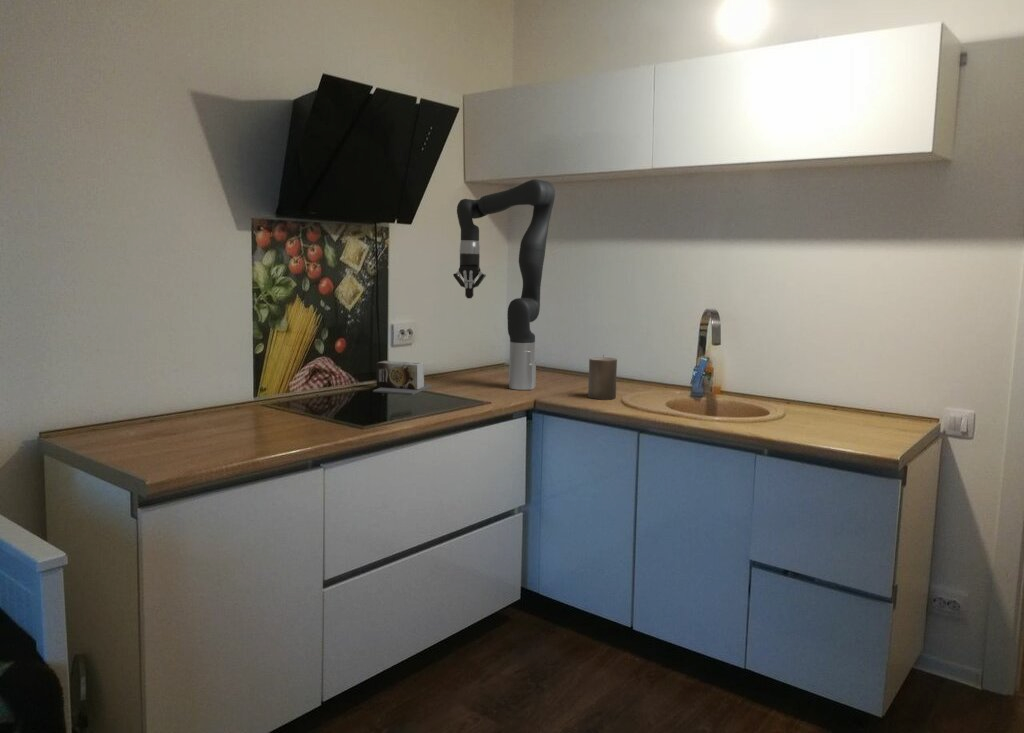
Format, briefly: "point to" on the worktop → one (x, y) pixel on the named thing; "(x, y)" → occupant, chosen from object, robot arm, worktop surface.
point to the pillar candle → (602, 378)
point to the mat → (400, 390)
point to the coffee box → (400, 375)
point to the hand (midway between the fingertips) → (469, 298)
